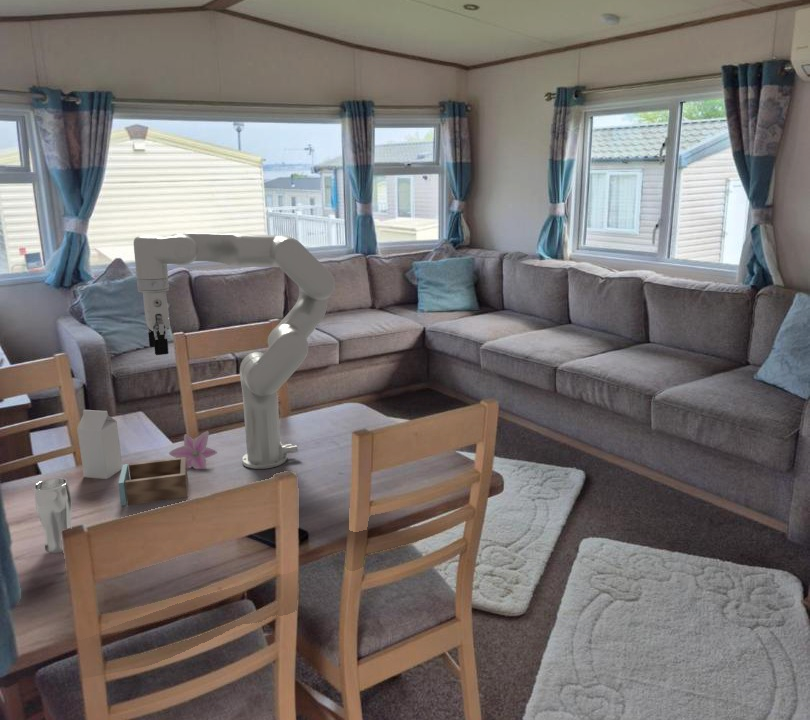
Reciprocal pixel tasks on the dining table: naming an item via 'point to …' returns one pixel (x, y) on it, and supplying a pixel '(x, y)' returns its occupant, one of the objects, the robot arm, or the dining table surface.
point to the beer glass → (53, 510)
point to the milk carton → (99, 444)
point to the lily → (194, 451)
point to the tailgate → (123, 484)
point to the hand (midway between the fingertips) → (158, 350)
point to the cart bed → (157, 481)
